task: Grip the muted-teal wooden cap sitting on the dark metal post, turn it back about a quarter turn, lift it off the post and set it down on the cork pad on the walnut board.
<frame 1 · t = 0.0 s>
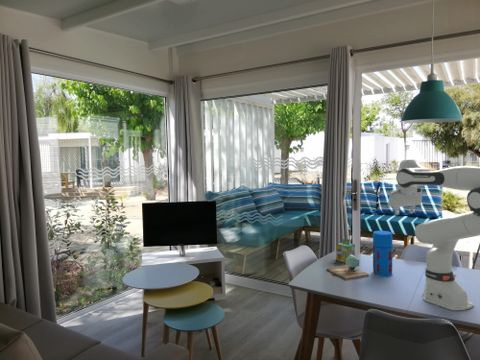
hand: (404, 213, 205), 39 cm above the table, tool pointing down, fingers open, 8 cm apart
cap: (352, 265, 228), point 4 cm above the table, touching post
chalk box: (345, 261, 251), on the table
thermos: (382, 274, 224), on the table
board: (347, 272, 227), on the table
post: (352, 272, 228), resting on board
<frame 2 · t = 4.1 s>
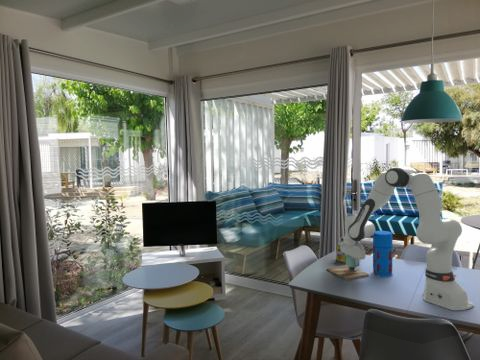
hand: (352, 262, 228), 6 cm above the table, tool pointing down, fingers closed on cap, 6 cm apart
cap: (352, 265, 228), point 4 cm above the table, touching gripper, post
everything else where it was.
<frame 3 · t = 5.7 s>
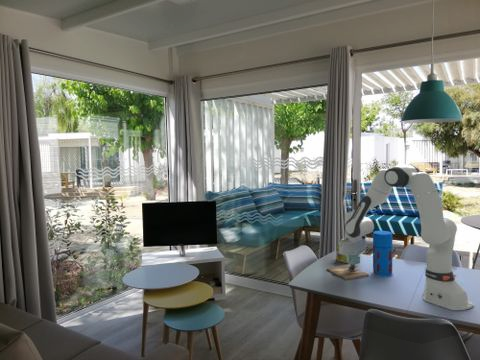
hand: (352, 259, 228), 8 cm above the table, tool pointing down, fingers closed on cap, 6 cm apart
cap: (353, 262, 228), point 6 cm above the table, touching gripper
everything else where it was.
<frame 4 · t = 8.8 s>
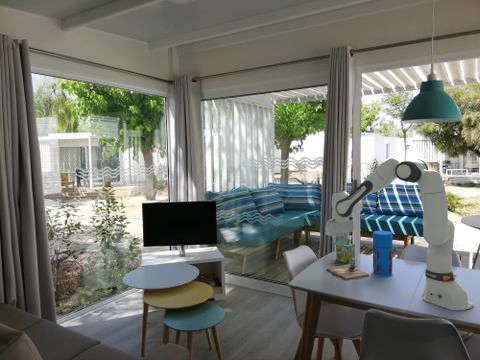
hand: (339, 240, 224), 20 cm above the table, tool pointing down, fingers closed on cap, 6 cm apart
cap: (339, 244, 224), point 18 cm above the table, touching gripper
everything else where it was.
when the fingers open (4 cm above the table, at t = 12.0 s): cap stays where it is, resting on board.
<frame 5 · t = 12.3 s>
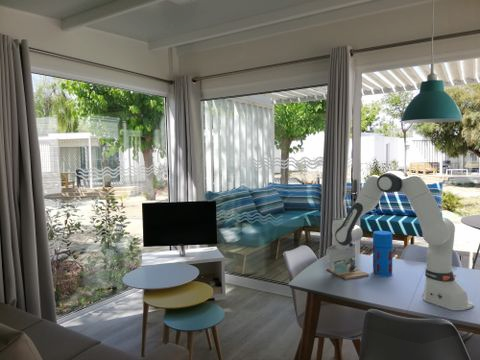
hand: (340, 267, 225), 4 cm above the table, tool pointing down, fingers open, 8 cm apart
cap: (340, 271, 225), point 2 cm above the table, touching board
everything else where it was.
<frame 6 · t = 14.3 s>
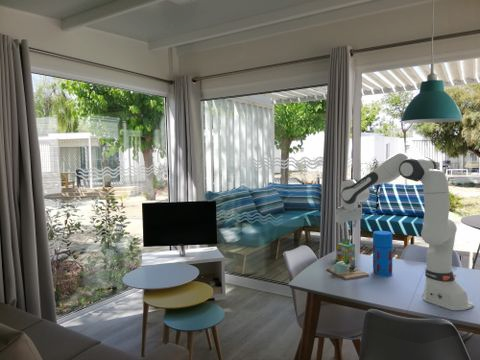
hand: (348, 228, 230), 27 cm above the table, tool pointing down, fingers open, 8 cm apart
nothing on the table moved.
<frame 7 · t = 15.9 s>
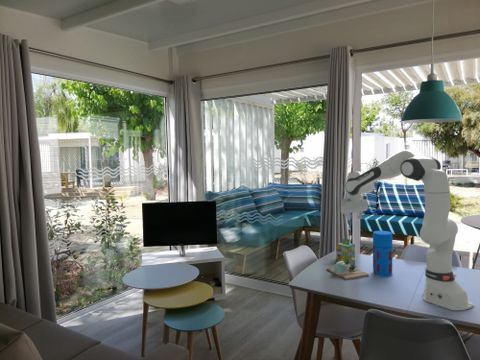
hand: (354, 219, 234), 31 cm above the table, tool pointing down, fingers open, 8 cm apart
nothing on the table moved.
at the end: cap inside the target area on the board (0.3 cm from its centre), point 1.6 cm above the board's base; cap tilted 0°; the gripper is holding nothing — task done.
